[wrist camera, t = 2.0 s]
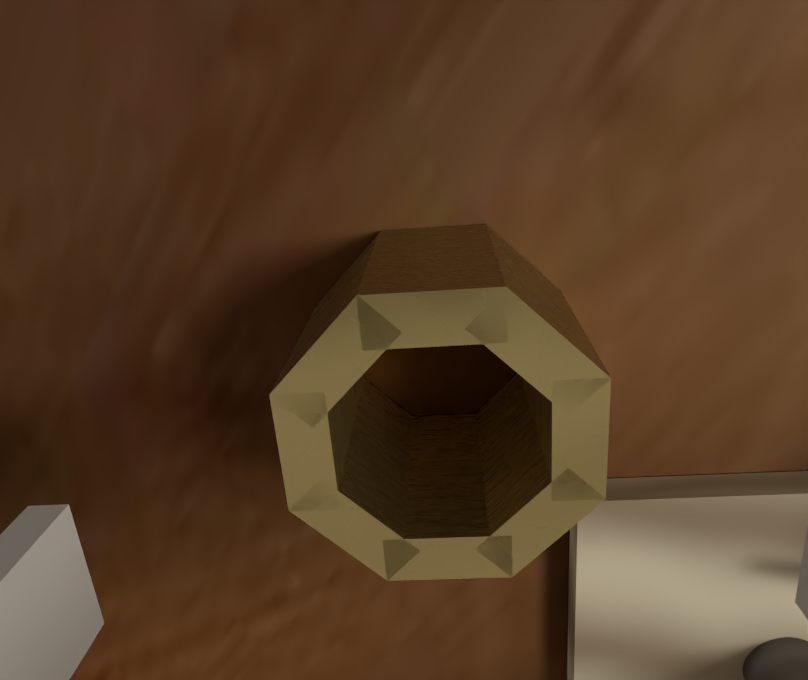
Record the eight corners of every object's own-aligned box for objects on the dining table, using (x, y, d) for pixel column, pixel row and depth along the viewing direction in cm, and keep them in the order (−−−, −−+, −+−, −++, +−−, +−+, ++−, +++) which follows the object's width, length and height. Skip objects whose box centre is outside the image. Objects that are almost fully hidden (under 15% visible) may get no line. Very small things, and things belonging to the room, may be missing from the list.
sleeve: (306, 235, 19) (253, 301, 13) (561, 218, 18) (615, 279, 13) (335, 452, 22) (300, 583, 16) (558, 443, 21) (603, 574, 15)
